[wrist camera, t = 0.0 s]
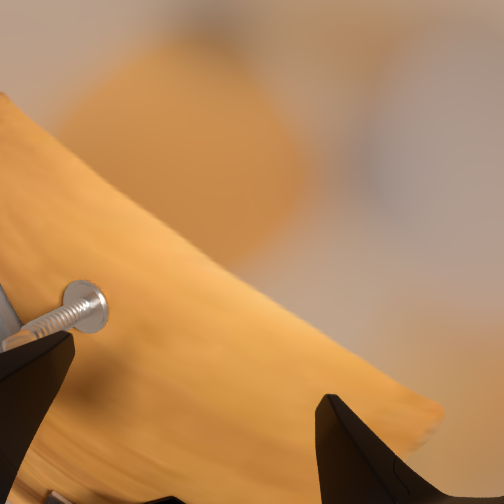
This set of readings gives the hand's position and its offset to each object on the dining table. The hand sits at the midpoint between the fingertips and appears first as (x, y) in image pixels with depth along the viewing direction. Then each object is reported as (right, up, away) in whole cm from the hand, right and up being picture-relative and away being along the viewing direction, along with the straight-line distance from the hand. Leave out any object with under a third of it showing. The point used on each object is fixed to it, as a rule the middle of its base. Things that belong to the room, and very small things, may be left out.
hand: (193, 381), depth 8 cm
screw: (-13, 0, +15) cm, 20 cm away
